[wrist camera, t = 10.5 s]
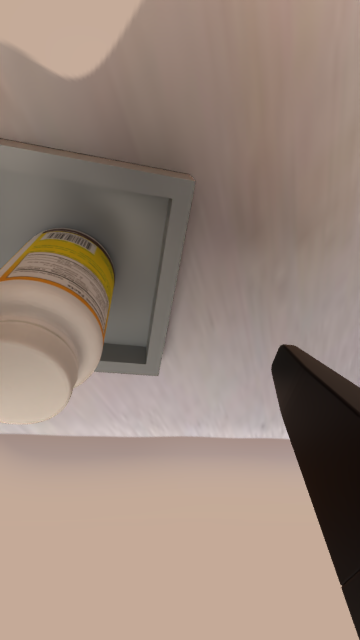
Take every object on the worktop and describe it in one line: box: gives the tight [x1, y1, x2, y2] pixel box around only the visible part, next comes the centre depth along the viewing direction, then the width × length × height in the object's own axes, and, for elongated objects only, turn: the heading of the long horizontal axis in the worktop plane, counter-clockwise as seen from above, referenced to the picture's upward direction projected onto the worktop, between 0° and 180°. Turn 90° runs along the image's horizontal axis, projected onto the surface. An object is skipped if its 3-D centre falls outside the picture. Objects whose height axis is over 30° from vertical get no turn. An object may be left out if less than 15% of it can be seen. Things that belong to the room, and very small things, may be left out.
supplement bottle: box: [0, 228, 115, 424], centre depth 15 cm, size 6×6×10 cm
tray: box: [0, 138, 196, 376], centre depth 18 cm, size 13×13×2 cm
